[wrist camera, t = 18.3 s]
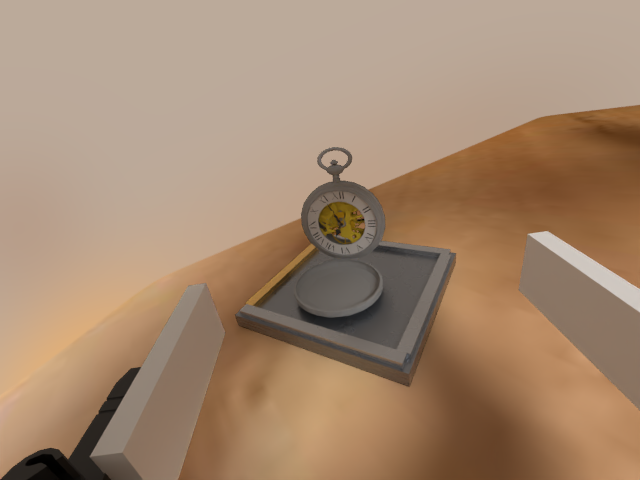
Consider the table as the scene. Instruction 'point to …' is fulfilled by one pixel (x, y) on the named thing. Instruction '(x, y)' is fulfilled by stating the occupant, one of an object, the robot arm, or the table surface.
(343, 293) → the pocket watch
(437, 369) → the table surface
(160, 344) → the robot arm
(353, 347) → the pocket plate
